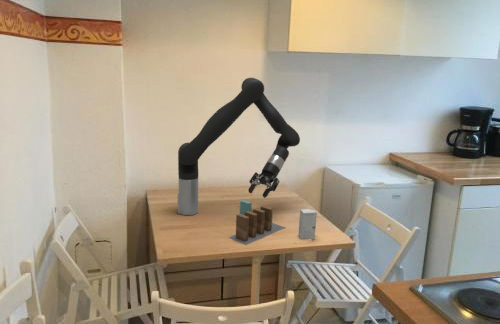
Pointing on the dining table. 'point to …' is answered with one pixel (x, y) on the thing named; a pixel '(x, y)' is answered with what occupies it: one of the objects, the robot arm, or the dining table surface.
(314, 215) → the skincare box
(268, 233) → the domino mat
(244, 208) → the domino
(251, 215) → the domino
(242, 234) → the domino
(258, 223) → the domino
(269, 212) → the domino
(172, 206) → the dining table surface
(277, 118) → the robot arm
